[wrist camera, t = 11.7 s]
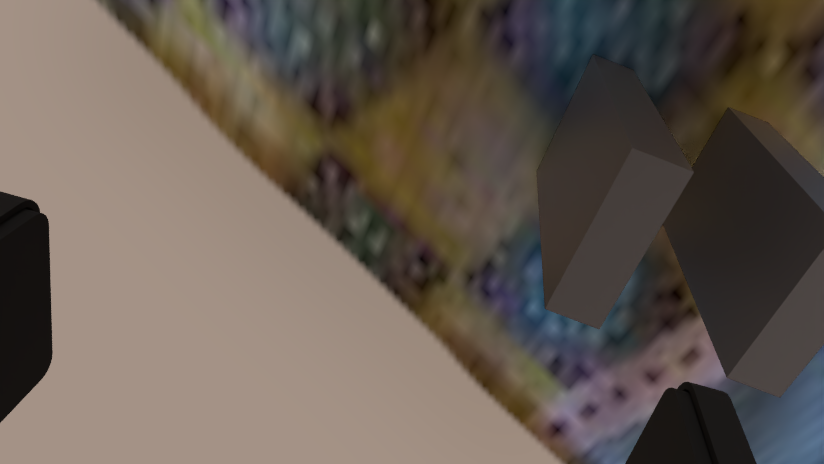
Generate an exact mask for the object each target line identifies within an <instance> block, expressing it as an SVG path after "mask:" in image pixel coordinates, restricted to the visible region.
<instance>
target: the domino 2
mask: <svg viewBox="0 0 824 464" xmlns="http://www.w3.org/2000/svg"><path fill="white" fill-rule="evenodd" d="M692 169H693V171H694V173H693V175H692V176H691V178H690V180H689V181H688V183H687V185H686V186H685V188H684V190H683V191H682V193H681V195H680V196H679V198H678V200H677V201H676V203H675V205H674V206H673V208H672V210H671V211H670V213H669V215H668V216H667V218H666V220H665V221H664V223H663V225H664V228H665V230H666V232H667V235H668V237H669V240H670V242H671V245H672V247H673V249H674V252H675V254H676V257H677V259H678V261H679V264H680V266H681V269H682V271H683V273H684V276H685V278H686V281H687V283H688V285H689V288H690V290H691V293H692V295H693V298H694V300H695V302H696V305H697V307H698V310H699V312H700V314H701V317H702V319H703V322H704V324H705V326H706V329H707V331H708V334H709V336H710V338H711V341H712V343H713V346H714V348H715V351H716V353H717V355H718V358H719V360H720V363H721V365H722V367H723V370H724V372H725V375H726V377H727V378H729V379H732V380H734V381H737V382H740V383H742V384H745V385H748V386H750V387H753V388H756V389H758V390H761V391H764V392H766V393H769V394H772V395H774V396H777V397H781V396H782V395H783V393H784V392H785V391H786V390H787V388H788V387H789V386H790V385H791V384H792V382H793V381H794V380H795V379H796V377H797V376H798V375H799V374H800V373H801V371H802V370H803V369H804V368H805V366H806V365H807V364H808V363H809V362H810V360H811V359H812V358H813V357H814V355H815V354H816V353H817V352H818V351H819V349H820V348H821V347H822V346H823V344H824V177H823V176H822V175H821V174H820V173H819V172H818V171H817V170H816V169H815V168H814V167H813V166H812V165H811V164H810V163H809V162H808V161H807V160H806V159H805V158H804V157H803V156H802V155H800V154H799V153H798V152H797V151H796V150H795V149H794V148H793V147H792V146H791V145H790V144H789V143H788V142H787V141H786V140H785V139H784V138H783V137H782V136H781V135H780V134H779V133H778V132H777V131H776V130H775V129H774V128H773V127H772V126H771V125H770V124H769V123H768V122H765V121H763V120H760V119H757V118H755V117H752V116H750V115H747V114H745V113H742V112H739V111H737V110H734V109H732V108H729V107H728V109H727V110H726V112H725V114H724V115H723V117H722V119H721V120H720V122H719V124H718V125H717V127H716V129H715V130H714V132H713V134H712V135H711V137H710V139H709V140H708V142H707V144H706V145H705V147H704V149H703V150H702V152H701V154H700V155H699V157H698V159H697V160H696V162H695V164H694V165H693V167H692Z"/></svg>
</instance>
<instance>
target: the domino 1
mask: <svg viewBox="0 0 824 464" xmlns="http://www.w3.org/2000/svg"><path fill="white" fill-rule="evenodd" d="M693 173H694V171H693V169H692V167H691V166H690V164H689V162H688V161H687V159H686V157H685V156H684V154H683V152H682V151H681V149H680V147H679V146H678V144H677V142H676V141H675V139H674V137H673V136H672V134H671V132H670V131H669V129H668V127H667V126H666V124H665V122H664V121H663V119H662V117H661V116H660V114H659V112H658V111H657V109H656V107H655V106H654V104H653V102H652V100H651V99H650V97H649V95H648V94H647V92H646V90H645V89H644V87H643V85H642V84H641V82H640V80H639V79H638V77H637V75H636V74H635V72H634V70H632V69H630V68H627V67H624V66H622V65H619V64H617V63H614V62H612V61H609V60H607V59H604V58H601V57H599V56H596V55H594V54H593V55H592V57H591V59H590V61H589V63H588V65H587V67H586V70H585V72H584V74H583V76H582V78H581V80H580V82H579V84H578V86H577V88H576V90H575V93H574V95H573V97H572V99H571V101H570V103H569V105H568V107H567V109H566V111H565V113H564V116H563V118H562V120H561V122H560V124H559V126H558V128H557V130H556V132H555V134H554V136H553V139H552V141H551V143H550V145H549V147H548V149H547V151H546V153H545V155H544V157H543V159H542V162H541V164H540V166H539V168H538V170H537V186H538V202H539V219H540V236H541V252H542V269H543V285H544V302H545V309H546V310H549V311H552V312H554V313H557V314H560V315H562V316H565V317H568V318H570V319H573V320H576V321H578V322H581V323H584V324H586V325H589V326H592V327H594V328H597V329H600V327H601V326H602V324H603V322H604V321H605V319H606V317H607V316H608V314H609V312H610V311H611V309H612V307H613V306H614V304H615V302H616V301H617V299H618V297H619V296H620V294H621V292H622V291H623V289H624V287H625V286H626V284H627V283H628V281H629V279H630V278H631V276H632V274H633V273H634V271H635V269H636V268H637V266H638V264H639V263H640V261H641V259H642V258H643V256H644V254H645V253H646V251H647V249H648V248H649V246H650V244H651V243H652V241H653V239H654V238H655V236H656V234H657V233H658V231H659V229H660V228H661V226H662V224H663V223H664V221H665V220H666V218H667V216H668V215H669V213H670V211H671V210H672V208H673V206H674V205H675V203H676V201H677V200H678V198H679V196H680V195H681V193H682V191H683V190H684V188H685V186H686V185H687V183H688V181H689V180H690V178H691V176H692V175H693Z"/></svg>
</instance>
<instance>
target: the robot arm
mask: <svg viewBox="0 0 824 464" xmlns="http://www.w3.org/2000/svg"><path fill="white" fill-rule="evenodd" d="M50 291H51V288H50V253H49V223H48V219H47V217H46V215H44V214H42V213H40V209H39V207H38V205H37V204H36V203H35V202H34V201H32V200H29V199H25V198H21V197H18V196H14V195H11V194H7V193H4V192H0V422H1V421H2V420H3V419H4V418H5V417H6V416H7V415H8V414H9V413H10V412H11V411H12V410H13V409H14V408H15V407H16V406H17V404H19V402H20V401H21V400H22V399H23V398H24V397H25V396H26V395H27V394H28V393H29V392H30V391H31V390H32V389H33V387H35V386H36V384H37V383H38V382H39V381H40V380H41V379H42V378H43V377H44V375H45V374H46V372H47V370H48V368H49V366H50V363H51V360H52V326H51V325H52V323H51V292H50ZM625 464H756V461H755V459H754V456H753V454H752V451H751V449H750V446H749V444H748V441H747V439H746V436H745V434H744V431H743V429H742V426H741V424H740V421H739V419H738V416H737V414H736V411H735V409H734V406H733V404H732V401H731V399H730V397H729V396H728V394H727V393H725V392H723V391H719V390H716V389H712V388H708V387H705V386H701V385H697V384H694V383H690V382H684V383H682V384H681V385H680V386H679V387H678V389H674V388H668V389H667V390H666V391H665V392H664V394H663V395H662V397H661V399H660V401H659V402H658V404H657V406H656V408H655V410H654V412H653V413H652V415H651V417H650V419H649V421H648V423H647V425H646V426H645V428H644V430H643V432H642V434H641V436H640V437H639V439H638V441H637V443H636V445H635V447H634V449H633V450H632V452H631V454H630V456H629V458H628V460H627V461H626V463H625Z"/></svg>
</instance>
